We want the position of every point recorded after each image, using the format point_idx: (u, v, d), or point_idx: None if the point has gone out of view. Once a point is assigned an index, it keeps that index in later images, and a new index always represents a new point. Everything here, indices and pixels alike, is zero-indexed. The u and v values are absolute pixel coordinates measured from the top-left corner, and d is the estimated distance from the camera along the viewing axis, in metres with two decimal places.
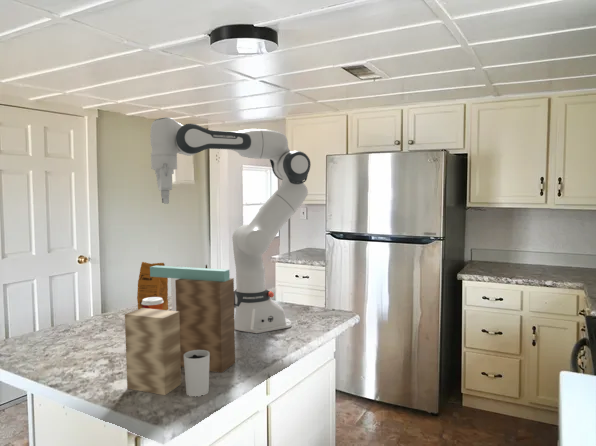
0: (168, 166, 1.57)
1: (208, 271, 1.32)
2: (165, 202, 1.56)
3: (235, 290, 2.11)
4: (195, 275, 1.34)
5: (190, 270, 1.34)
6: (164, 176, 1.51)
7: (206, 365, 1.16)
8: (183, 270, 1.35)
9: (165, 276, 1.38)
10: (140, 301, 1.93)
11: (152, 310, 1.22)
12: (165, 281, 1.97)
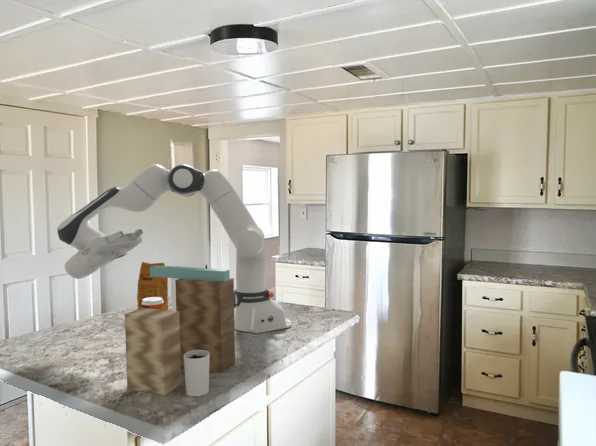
0: None
1: (208, 271, 1.32)
2: (119, 234, 1.44)
3: (235, 290, 2.11)
4: (195, 275, 1.34)
5: (190, 270, 1.34)
6: (90, 249, 1.43)
7: (206, 365, 1.16)
8: (183, 270, 1.35)
9: (165, 276, 1.38)
10: (140, 301, 1.93)
11: (152, 310, 1.22)
12: (165, 281, 1.97)
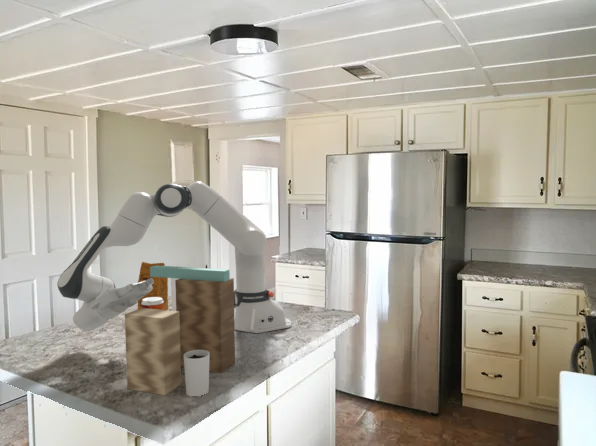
0: None
1: (208, 271, 1.32)
2: (129, 288, 1.38)
3: (235, 290, 2.11)
4: (195, 275, 1.34)
5: (190, 270, 1.34)
6: (100, 304, 1.37)
7: (206, 365, 1.16)
8: (183, 270, 1.35)
9: (165, 276, 1.38)
10: (140, 301, 1.93)
11: (152, 310, 1.22)
12: (165, 281, 1.97)
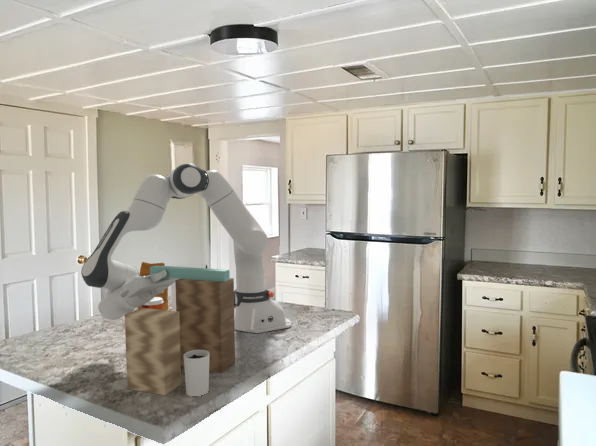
0: None
1: (208, 271, 1.32)
2: (164, 273, 1.36)
3: (235, 290, 2.11)
4: (195, 275, 1.34)
5: (190, 270, 1.34)
6: (129, 292, 1.32)
7: (206, 365, 1.16)
8: (183, 270, 1.35)
9: None
10: None
11: (152, 310, 1.22)
12: None
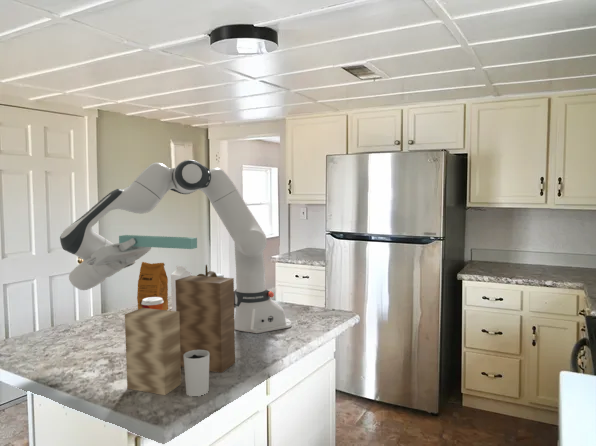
0: None
1: (175, 239, 1.32)
2: (132, 242, 1.36)
3: (235, 290, 2.11)
4: (163, 244, 1.34)
5: (158, 238, 1.34)
6: (96, 259, 1.32)
7: (206, 365, 1.16)
8: (151, 238, 1.35)
9: (134, 245, 1.37)
10: (140, 301, 1.93)
11: (152, 310, 1.22)
12: (165, 281, 1.97)
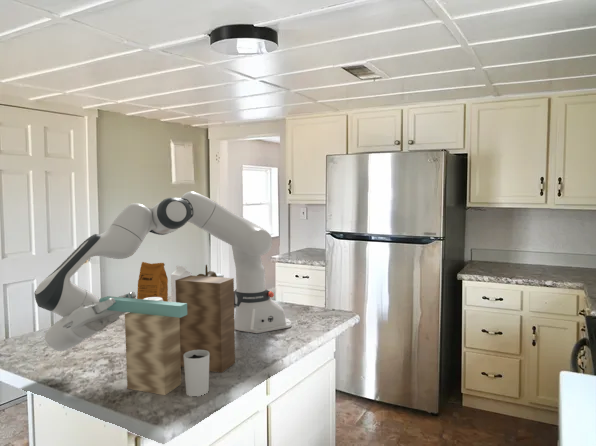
0: None
1: (163, 305, 1.17)
2: (110, 303, 1.19)
3: (235, 290, 2.11)
4: (148, 310, 1.18)
5: (143, 303, 1.19)
6: (73, 323, 1.17)
7: (206, 365, 1.16)
8: (135, 303, 1.20)
9: (116, 310, 1.22)
10: None
11: None
12: (165, 281, 1.97)
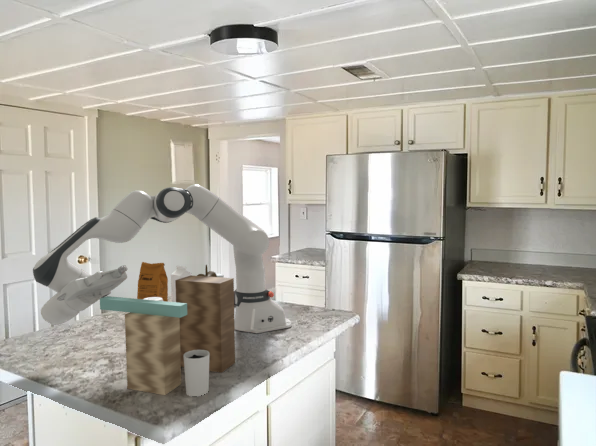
0: None
1: (163, 305, 1.17)
2: (98, 275, 1.25)
3: (235, 290, 2.11)
4: (148, 310, 1.18)
5: (143, 303, 1.19)
6: (66, 295, 1.24)
7: (206, 365, 1.16)
8: (135, 303, 1.20)
9: (116, 310, 1.22)
10: None
11: None
12: (165, 281, 1.97)
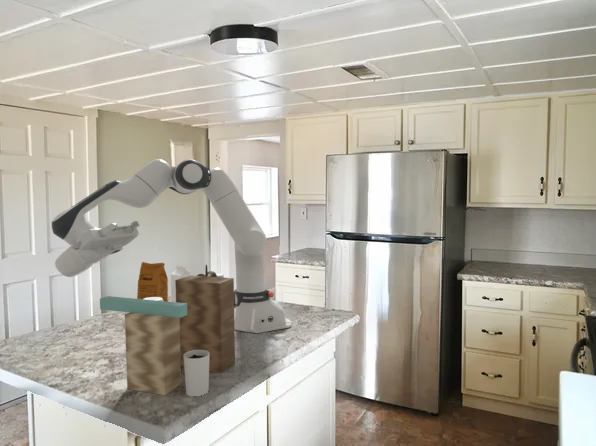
0: None
1: (163, 305, 1.17)
2: (112, 226, 1.31)
3: (235, 290, 2.11)
4: (148, 310, 1.18)
5: (143, 303, 1.19)
6: (82, 243, 1.30)
7: (206, 365, 1.16)
8: (135, 303, 1.20)
9: (116, 310, 1.22)
10: None
11: None
12: (165, 281, 1.97)
